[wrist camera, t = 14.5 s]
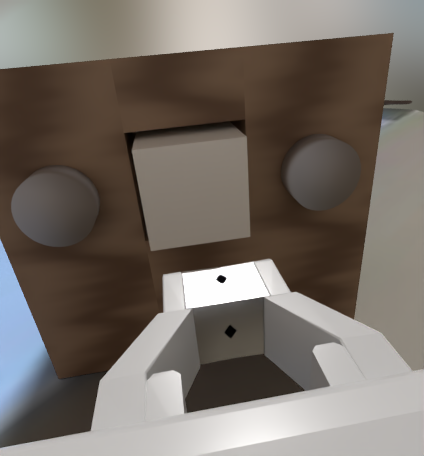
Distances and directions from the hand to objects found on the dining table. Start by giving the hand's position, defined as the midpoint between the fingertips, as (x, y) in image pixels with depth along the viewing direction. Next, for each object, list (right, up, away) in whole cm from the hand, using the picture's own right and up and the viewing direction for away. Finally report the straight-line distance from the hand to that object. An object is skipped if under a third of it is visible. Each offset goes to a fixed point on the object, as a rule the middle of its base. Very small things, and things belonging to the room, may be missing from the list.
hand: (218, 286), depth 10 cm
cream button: (-1, +2, +9) cm, 10 cm away
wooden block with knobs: (-1, -5, +17) cm, 18 cm away
